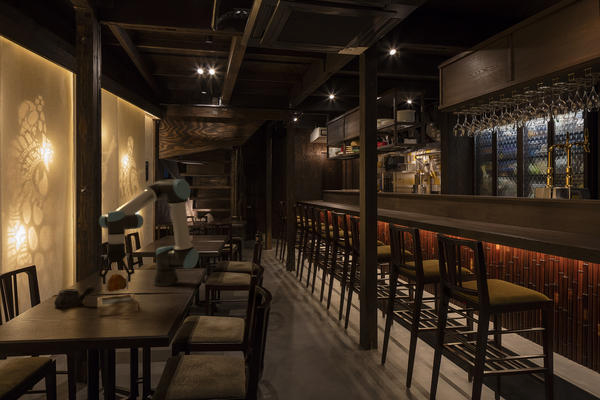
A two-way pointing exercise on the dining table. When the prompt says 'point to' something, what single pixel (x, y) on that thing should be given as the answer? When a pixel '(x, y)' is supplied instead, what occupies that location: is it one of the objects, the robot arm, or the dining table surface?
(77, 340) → the dining table surface
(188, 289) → the dining table surface
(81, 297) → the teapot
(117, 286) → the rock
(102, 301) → the plinth
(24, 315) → the dining table surface
